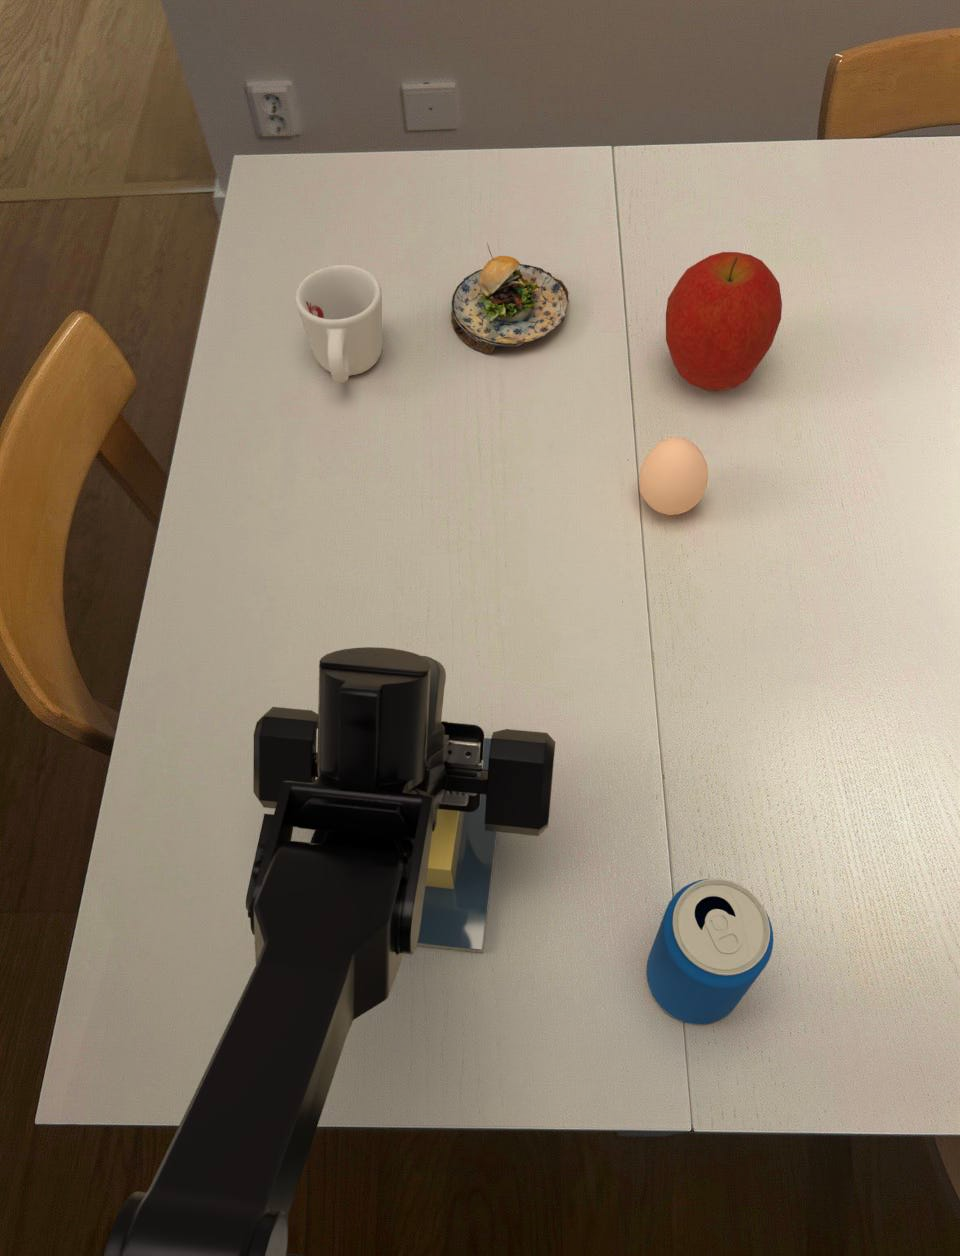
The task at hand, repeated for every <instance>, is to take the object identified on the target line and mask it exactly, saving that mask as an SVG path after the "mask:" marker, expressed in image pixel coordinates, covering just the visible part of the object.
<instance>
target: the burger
mask: <svg viewBox="0 0 960 1256" xmlns="http://www.w3.org/2000/svg"><path fill="white" fill-rule="evenodd" d="M486 246H487V249H488V252H489V255H490V256H491V259H490V260H488V261H487V262H486V263H485V265H484V266H483V268H482V269H478V270H476V271H474V272H472V273H471V274H470V275H467V276H466V277H464V278H463V280H462V281H460V282H459V284H458V285H457V286H456V288H455V289H454V290H455V291H453V294H452V297H451V298H452V299H451V313H450V315H451V316H450V317H451V323H452V327H453V330H454V331H455V333H456V334H457V335H458V337H459V338H460V339H461V340H462V341H463V342H464V343H465V344H466V345H468V346H470V347H471V348H472V349H477V350H480V351H481V352H482V353H485V354H487V355H490V354H492V353H493V351H494V350H495V347H506V348H508V347H509V348H510V347H513V348H516V347H519V346H521V345H523V344H527V343H531V342H535V341H538V340H540V339H542V338H543V337H545V336H547V335H548V334H550V333H551V332H552V331H554V330H555V329H556V328H557V327H558V326H559V325H560V324H562V323H563V322H564V321H565V317H566V315H567V313H566V312H567V310H568V307H569V304H570V300H569V295H570V293H569V290H568V288H567V286H566V285H565V284H564V282H563V280H561V279H558V278H556V277H554V276H553V275H552V273H551V272H549V271H545V270H544V269H543V268H542V267H539V266H538V267H537V266H534V265H529V264H522V263H521V262H520V261H518V259H516V258H515V257H513V256H509V255H498V256H494V257H493V255H492V252H491V250H490V246H489V244H488V243H486Z"/></svg>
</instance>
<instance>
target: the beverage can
mask: <svg viewBox="0 0 960 1256" xmlns="http://www.w3.org/2000/svg"><path fill="white" fill-rule="evenodd" d="M772 925H773V924H772V922H771V918H770V917H769V914H768V912H767V910H766V909H765V907H764V906H763V904H762V902H761V901H760V900H759V899H758V897H757V896H756V895H755V894H754V893H753V892H751V890H749V889H748V888H747V887H745V886H744V885H742V884H739V883H737V882H735V881H732V880H729V879H724V878H704V879H700V880H696V881H693V882H691V883H688V884H686V885H685V886H684V887H682V888H680V890H678V891H677V892H676V893H675V894H674V895H673V897H672V898H671V899H670V901H669V902H668V904H667V906H666V909H665V911H664V914H663V917H662V919H661V921H660V925H659V927H658V930H657V932H656V936H655V938H654V941H653V943H652V946H651V949H650V951H649V954H648V957H647V961H646V980H647V984H648V987H649V990H650V993H651V994H652V996H653V998H654V1000H655V1001H656V1003H657V1004H658V1005H659V1006H660V1008H662V1010H663V1011H665V1012H666V1013H667V1014H668V1015H670V1016H671V1017H672V1018H675V1019H676V1020H678V1021H680V1022H683V1023H686V1024H690V1025H709V1024H714V1023H716V1022H719V1021H721V1020H723V1019H724V1018H726V1017H727V1016H728V1015H730V1014H731V1013H732V1012H733V1011H734V1010H735V1008H736V1007H737V1005H738V1004H739V1003H740V1002H741V1000H742V999H743V998H744V996H745V995H746V994H747V992H748V991H749V989H750V988H751V987H752V985H753V984H754V983H755V981H756V980H757V979H758V978H759V976H760V975H761V974H762V973H763V971H764V969H765V968H766V967H767V965H768V963H769V961H770V959H771V956H772V952H773V948H774V930H773V926H772Z"/></svg>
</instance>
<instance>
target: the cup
mask: <svg viewBox="0 0 960 1256" xmlns="http://www.w3.org/2000/svg"><path fill="white" fill-rule="evenodd" d="M295 306H296V309H297V312H298V314H299V317H300V320H301V322H302V326H303V328H304V331H305V334H306V336H307V339H308V342H309V344H310V347H311V350H312V352H313V355H314V358H315V359H316V361H317V362H318V364H319V365H320V366H321V367H322V368H323V369H324V370H326V371H327V372H329V373H330V375H331V378H332V380H333V382H336V383H346V382H347V381H348V379H349V377H350V376H356V375H359V374H362V373H365V372H366V371H368V370H370V369H371V368H372V367H374V365H376V363H377V362H378V361H379V359H380V357H381V354H382V350H383V293H382V287H381V284H380V281H379V280H378V278H376V276H375V275H373V274H372V273H371V272H370V271H368V270H367V269H365V268H362V267H359V266H356V265H350V264H335V265H334V264H333V265H329V266H325V267H322V268H319V269H317V270H315V271H313V272H312V273H310V274H309V275H306V277H305V278H304V279H302V281H301V282H300V283H299V285H298V287H297V288H296V292H295Z"/></svg>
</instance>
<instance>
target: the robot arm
mask: <svg viewBox="0 0 960 1256" xmlns="http://www.w3.org/2000/svg"><path fill="white" fill-rule="evenodd" d="M446 681H447V673H446V669H445V667H444V665H443V664H442V663H441V662H440V661H438V660H436V659H434V658H432V657H430V656H426V655H420V654H417V653H415V652H411V651H407V650H403V649H397V648H388V647H375V646H374V647H372V646H370V647H369V646H368V647H366V646H365V647H351V648H343V649H338V650H334V651H331V652H329V653H327V654H325V655H323V656H322V657H321V658H320V659H319V665H318V699H317V700H318V705H317V706H318V707H317V708H318V709H317V712H315V711H314V710H311V709H300V708H289V707H280V706H271V708H270V709H269V710H267V711H266V712H265V713H264V714H263V715H262V716H261V717H260V718H259V719H258V720H257V722H256V724H255V728H254V732H253V768H252V769H253V772H252V773H253V774H252V775H253V783H252V784H253V790H252V791H253V792H252V793H253V794H254V796H255V797H256V799H257V800H258V801H259V803H260V805H261V806H262V808H267V809H273V810H274V812H273V814H272V813H264V814H263V817H262V818H263V819H262V821H261V827H260V831H259V836H258V841H257V845H256V850H255V854H254V859H253V863H252V869H251V873H250V878H249V882H248V885H247V886H248V887H247V890H246V895H245V909H246V912H247V918H249V919H250V920H249V922H250V930H251V933H252V935H253V936H254V952H255V953H254V954H255V966H254V968H253V970H252V972H251V974H250V977H249V979H248V981H247V983H246V984H245V987H244V989H243V992H242V993H241V995H240V997H239V1000H238V1002H237V1004H236V1006H235V1008H234V1010H233V1012H232V1014H231V1016H230V1019H229V1020H228V1023H227V1025H226V1026H225V1029H224V1031H223V1033H222V1036H221V1037H220V1039H219V1041H218V1044H217V1046H216V1048H215V1050H214V1052H213V1054H212V1056H211V1058H210V1059H209V1063H208V1064H207V1066H206V1068H205V1071H204V1073H203V1075H202V1077H201V1079H200V1081H199V1083H198V1085H197V1088H196V1090H195V1092H194V1094H193V1096H192V1098H191V1100H190V1101H189V1105H188V1107H187V1108H186V1110H185V1113H184V1115H183V1117H182V1119H181V1121H180V1123H179V1125H178V1127H177V1129H176V1132H175V1134H174V1136H173V1137H172V1140H171V1142H170V1144H169V1146H168V1148H167V1151H166V1153H165V1154H164V1157H163V1159H162V1161H161V1163H160V1165H159V1167H158V1169H157V1172H156V1174H155V1176H154V1178H153V1179H152V1181H151V1184H150V1186H149V1188H148V1190H147V1191H146V1192H145V1191H139V1190H136V1191H134V1192H133V1193H131V1194H130V1195H129V1196H128V1197H127V1198H126V1199H125V1201H124V1203H123V1204H122V1206H121V1208H120V1209H119V1210H118V1213H117V1215H116V1218H115V1219H114V1221H113V1225H112V1227H111V1229H110V1232H109V1234H108V1238H107V1242H106V1245H105V1249H104V1252H103V1256H307V1255H305V1254H299V1253H292V1252H288V1242H289V1239H288V1238H289V1220H288V1218H289V1214H290V1212H291V1208H292V1205H293V1202H294V1199H295V1196H296V1193H297V1189H298V1187H299V1184H300V1181H301V1178H302V1174H303V1171H304V1168H305V1165H306V1163H307V1159H308V1156H309V1153H310V1150H311V1147H312V1143H313V1142H314V1141H313V1140H314V1137H315V1134H316V1132H317V1128H318V1125H319V1122H320V1119H321V1116H322V1113H323V1110H324V1107H325V1104H326V1101H327V1097H328V1095H329V1091H330V1088H331V1086H332V1082H333V1079H334V1076H335V1074H336V1071H337V1068H338V1064H339V1061H340V1059H341V1055H342V1052H343V1049H344V1045H345V1042H346V1039H347V1037H348V1034H349V1032H350V1029H351V1027H352V1024H353V1021H355V1020H357V1018H359V1017H361V1016H362V1015H364V1014H366V1013H367V1012H369V1011H370V1010H372V1009H373V1008H375V1007H377V1006H378V1005H380V1004H382V1003H383V1002H385V1001H386V1000H387V999H389V997H390V994H391V991H392V988H393V986H394V983H395V981H396V980H395V979H396V977H397V974H398V972H399V970H400V966H401V963H402V960H403V956H404V955H411V956H412V955H414V954H415V951H416V949H417V946H416V945H417V941H418V936H419V931H420V924H421V917H422V909H423V901H424V893H425V885H426V877H427V869H428V861H429V853H430V845H431V837H432V831H434V830H435V827H436V822H437V811H438V809H443V810H453V811H463V812H474V811H476V810H477V809H478V807H479V805H480V800H481V794H486V809H485V831H494V832H497V833H503V834H505V833H506V834H513V835H524V836H534V837H540V835H541V834H542V833H544V832H545V831H546V830H547V829H548V828H549V823H550V816H551V814H550V813H551V802H552V791H553V789H552V788H553V778H554V765H555V753H556V741H555V740H554V738H553V737H552V736H551V735H550V734H549V733H548V732H543V731H542V732H541V731H530V730H522V729H521V730H520V729H510V728H505V729H500V730H497V731H496V730H495V731H493V732H492V734H491V738H490V739H491V744H490V752H489V763H488V769H483V753H484V738H485V733H484V729H482V728H481V726H479V725H478V724H471V723H470V724H469V723H460V722H450V721H448V720H442V718H443V717H442V716H443V706H444V696H445V686H446ZM294 828H298V829H301V830H310V831H311V830H313V831H314V832H313V834H312V835H311V840H310V841H309V842H307V841H298V840H292V839H293V832H294Z"/></svg>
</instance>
